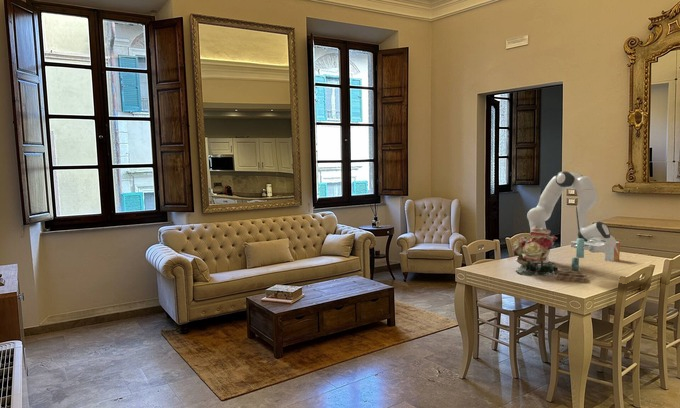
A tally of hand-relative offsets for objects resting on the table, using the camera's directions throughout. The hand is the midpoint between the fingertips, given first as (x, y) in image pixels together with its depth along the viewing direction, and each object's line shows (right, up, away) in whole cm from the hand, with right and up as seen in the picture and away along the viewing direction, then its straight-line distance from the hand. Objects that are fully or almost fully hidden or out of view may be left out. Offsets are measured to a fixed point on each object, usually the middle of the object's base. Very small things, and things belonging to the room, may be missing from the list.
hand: (579, 247), depth 282 cm
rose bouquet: (-17, -18, +25) cm, 35 cm away
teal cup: (+3, -18, +17) cm, 25 cm away
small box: (+51, -14, +55) cm, 77 cm away
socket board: (-2, -20, +4) cm, 20 cm away
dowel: (+1, -6, +1) cm, 6 cm away
